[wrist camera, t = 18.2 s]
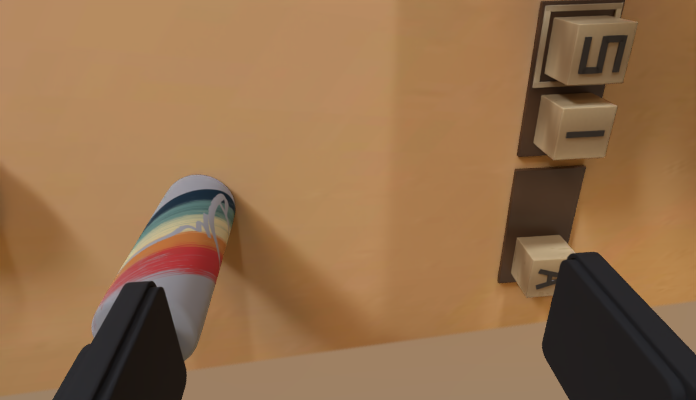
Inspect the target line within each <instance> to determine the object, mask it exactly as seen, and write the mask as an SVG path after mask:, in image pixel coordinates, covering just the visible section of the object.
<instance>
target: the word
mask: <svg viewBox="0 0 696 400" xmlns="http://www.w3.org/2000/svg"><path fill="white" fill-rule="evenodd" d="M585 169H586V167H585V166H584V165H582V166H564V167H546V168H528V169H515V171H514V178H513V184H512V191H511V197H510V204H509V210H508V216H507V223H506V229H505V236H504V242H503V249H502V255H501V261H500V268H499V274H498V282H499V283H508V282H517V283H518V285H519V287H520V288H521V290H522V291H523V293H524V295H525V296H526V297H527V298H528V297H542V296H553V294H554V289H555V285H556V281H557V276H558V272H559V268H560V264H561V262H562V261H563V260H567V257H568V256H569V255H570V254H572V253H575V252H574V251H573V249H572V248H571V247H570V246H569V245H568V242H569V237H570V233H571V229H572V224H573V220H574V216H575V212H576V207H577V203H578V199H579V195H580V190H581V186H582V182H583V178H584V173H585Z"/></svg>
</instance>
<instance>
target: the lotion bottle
mask: <svg viewBox="0 0 696 400" xmlns="http://www.w3.org/2000/svg"><path fill="white" fill-rule="evenodd" d="M234 215H235V201H234V198H233V196H232V194H231V192H230V191H229V189H228V188H227V187H226V186H225V185H224V184H223V183H221V182H220V181H218V180H216V179H214V178H212V177H209V176H205V175H190V176H186V177H184V178H181V179H180V180H178V181H177V182H175V183H174V184H173V185H172V186H171V187H170V189H169V190H168V191H167V193H166V194H165V196H164V198H163V199H162V201H161V202H160V204H159V206H158V207H157V209H156V211H155V212H154V214H153V216H152V217H151V219H150V221H149V223H148V224H147V226H146V228H145V229H144V231H143V233H142V234H141V236H140V238H139V239H138V241H137V243H136V244H135V246H134V248H133V249H132V251H131V253H130V254H129V256H128V258H127V259H126V261H125V263H124V264H123V266H122V268H121V269H120V271H119V273H118V274H117V276H116V278H115V279H114V281H113V283H112V284H111V286H110V288H109V289H108V291H107V293H106V295H105V296H104V298H103V300H102V301H101V303H100V305H99V307H98V309H97V311H96V313H95V315H94V318H93V321H92V333H93V337H94V338H95V336H96V334H97V332H98V330H99V329H100V327H101V325H102V323H103V321H104V320H105V318H106V316H107V314H108V313H109V311H110V309H111V307H112V305H113V304H114V302H115V300H116V298H117V296H118V295H119V293H120V291H121V289H122V288H123V286H124V285H125V284H126V283H128V282H142V281H153V282H154V283H155V284H156V286H157V287H163V288H164V290H165V294H166V297H167V301H168V305H169V308H170V312H171V316H172V319H173V323H174V327H175V330H176V334H177V338H178V341H179V345H180V349H181V352H182V356H183V360H184V361H185V360H186V359H187V358H189V357H190V356H191V354H192V353H193V352H194V350H195V348H196V346H197V344H198V341H199V338H200V335H201V332H202V329H203V325H204V322H205V318H206V315H207V312H208V308H209V305H210V301H211V298H212V294H213V291H214V287H215V284H216V280H217V277H218V273H219V270H220V266H221V263H222V259H223V256H224V252H225V249H226V245H227V242H228V238H229V235H230V231H231V227H232V224H233V220H234Z"/></svg>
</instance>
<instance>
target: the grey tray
mask: <svg viewBox="0 0 696 400" xmlns="http://www.w3.org/2000/svg"><path fill="white" fill-rule="evenodd" d="M624 2H625V0H564V1H541V4H540V10H539V17H538V23H537V30H536V36H535V42H534V49H533V55H532V62H531V68H530V75H529V81H528V87H527V94H526V100H525V107H524V113H523V120H522V126H521V132H520V139H519V145H518V152H517V156H518V157H523V156H542V155H548V156H549V157H550V158H551V159H552V160H567V159H585V158H604V157H605V154H606V150H607V146H608V142H609V138H610V134H611V130H612V127H613V123H614V119H615V115H616V111H617V105H615V104H613V103H611V102H609V101H607V100H605V99H603V98H602V96H603V92H604V88H605V84H591V85H570V86H567V85H565V84H563V83H561V82H560V81H558V80H556V79H554V78H552V77H550V76H548V75H546V74H545V67H546V61H547V55H548V49H549V43H550V37H551V32H552V26H553V20H554V18H555V17H579V16H604V15H608V16H613V17H617V18H621V15H622V11H623V7H624Z"/></svg>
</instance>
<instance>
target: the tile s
mask: <svg viewBox="0 0 696 400" xmlns="http://www.w3.org/2000/svg"><path fill="white" fill-rule="evenodd" d="M637 25H638V22H636V21H631V20H627V19H622V18H617V17H613V16H608V15H604V16H579V17H555V18H554V20H553V26H552V32H551V37H550V43H549V49H548V55H547V61H546V67H545V74H546V75H548V76H550V77H552V78H554V79H556V80H558V81H560V82H561V83H563V84H565V85H567V86H570V85H591V84H613V83H623V81H624V77H625V73H626V69H627V65H628V61H629V57H630V53H631V49H632V45H633V41H634V37H635V33H636V29H637Z"/></svg>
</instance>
